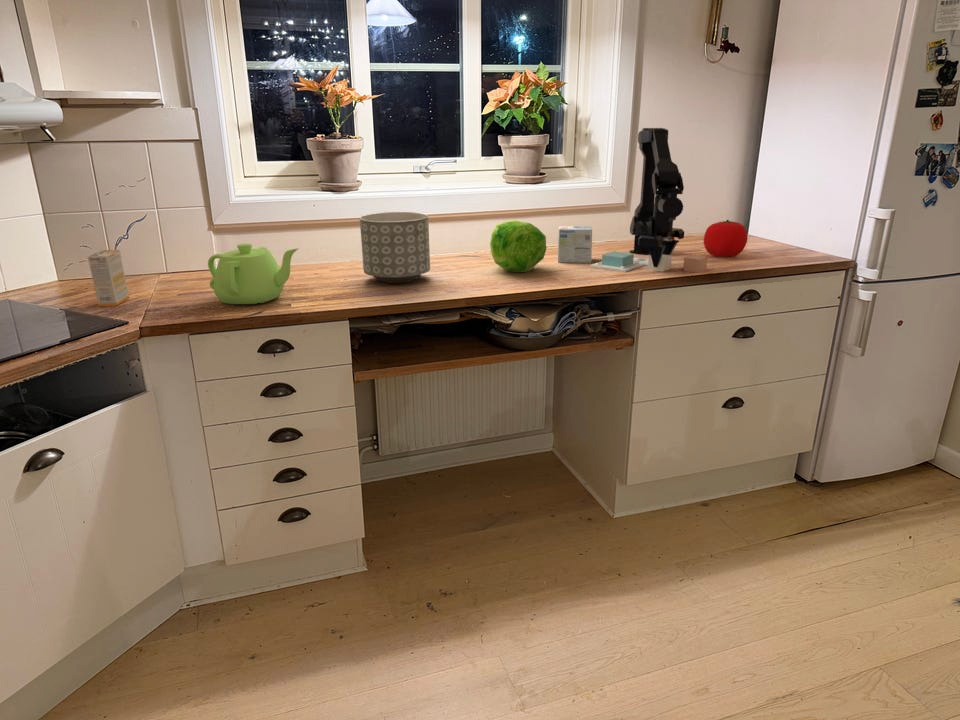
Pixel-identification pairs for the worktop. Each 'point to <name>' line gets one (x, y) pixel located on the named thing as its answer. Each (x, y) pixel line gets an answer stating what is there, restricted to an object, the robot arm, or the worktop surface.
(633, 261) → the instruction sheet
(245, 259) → the teapot
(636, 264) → the build plate
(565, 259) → the light bulb box
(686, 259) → the rust brick
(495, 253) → the lettuce
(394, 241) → the planter
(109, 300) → the supplement box
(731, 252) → the tomato
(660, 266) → the cream brick
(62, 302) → the worktop surface
